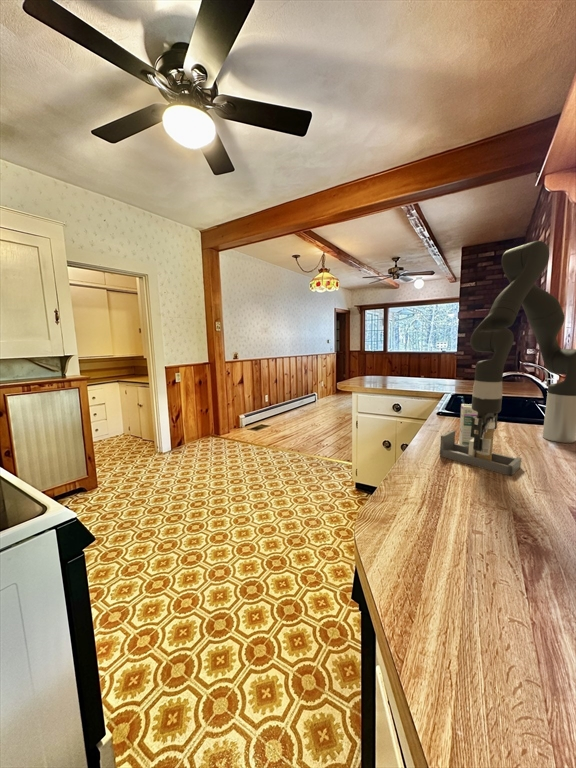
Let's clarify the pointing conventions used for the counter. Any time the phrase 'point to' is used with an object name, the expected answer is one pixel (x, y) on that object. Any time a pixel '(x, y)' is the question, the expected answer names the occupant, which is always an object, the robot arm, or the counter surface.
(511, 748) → the counter surface
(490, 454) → the sprinkles bottle
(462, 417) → the syrup box
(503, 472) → the grey slide rail frame
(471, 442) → the pusher plate
